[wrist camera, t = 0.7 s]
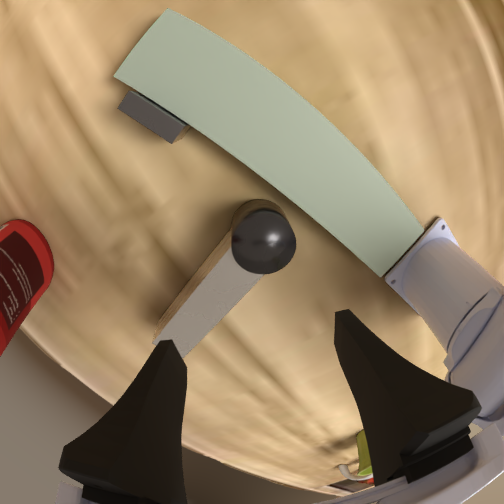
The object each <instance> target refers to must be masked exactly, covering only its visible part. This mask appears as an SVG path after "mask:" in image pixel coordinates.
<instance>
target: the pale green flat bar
mask: <svg viewBox="0 0 504 504" xmlns="http://www.w3.org/2000/svg"><path fill="white" fill-rule="evenodd" d="M113 77H115V78H117V79H119V80H120V81H122V82H124V83H125V84H127V85H129V86H130V87H132V88H134V89H135V90H137V91H138V92H140V93H142V94H143V95H145V96H146V97H148V98H150V99H151V100H153V101H154V102H156V103H158V104H159V105H161V106H162V107H164V108H165V109H167V110H168V111H170V112H171V113H173V114H174V115H176V116H177V117H179V118H180V119H182V120H183V121H185V122H186V123H188V124H189V125H191V126H192V127H194V128H195V129H197V130H198V131H199V132H201V133H202V134H204V135H205V136H207V137H208V138H209V139H211V140H212V141H214V142H215V143H217V144H218V145H219V146H221V147H222V148H223V149H225V150H226V151H228V152H229V153H230V154H232V155H233V156H234V157H236V158H237V159H239V160H240V161H241V162H243V163H244V164H245V165H247V166H248V167H249V168H251V169H252V170H253V171H254V172H256V173H257V174H258V175H260V176H261V177H262V178H264V179H265V180H266V181H267V182H269V183H270V184H271V185H273V186H274V187H275V188H276V189H278V190H279V191H280V192H281V193H283V194H284V195H285V196H287V197H288V198H289V199H290V200H291V201H293V202H294V203H295V204H296V205H298V206H299V207H300V208H301V209H303V210H304V211H305V212H306V213H307V214H309V215H310V216H311V217H312V218H313V219H315V220H316V221H317V222H318V223H319V224H320V225H322V226H323V227H324V228H325V229H326V230H328V231H329V232H330V233H331V234H332V235H333V236H335V237H336V238H337V239H338V240H339V241H340V242H341V243H343V244H344V245H345V246H346V247H347V248H348V249H349V250H350V251H352V252H353V253H354V254H355V255H356V256H357V257H358V258H359V259H360V260H362V261H363V262H364V263H365V264H366V265H367V266H368V267H369V268H370V269H371V270H372V271H374V272H375V273H376V274H377V275H378V276H379V277H380V278H381V277H382V276H383V275H384V274H385V273H386V272H387V271H388V270H389V269H390V268H391V267H392V266H393V265H394V263H395V262H396V261H397V260H398V259H399V258H400V257H401V256H402V255H403V254H404V253H405V252H406V251H407V250H408V249H409V247H410V246H411V245H412V244H413V243H414V242H415V241H416V240H417V239H418V237H419V236H420V235H421V234H422V233H423V232H424V231H425V230H424V229H423V227H422V226H421V224H420V223H419V222H418V220H417V219H416V218H415V216H414V215H413V214H412V212H411V211H410V210H409V208H408V207H407V206H406V205H405V203H404V202H403V201H402V199H401V198H400V197H399V196H398V194H397V193H396V192H395V191H394V190H393V188H392V187H391V186H390V185H389V184H388V182H387V181H386V180H385V179H384V178H383V177H382V175H381V174H380V173H379V172H378V171H377V170H376V169H375V167H374V166H373V165H372V164H371V163H370V162H369V161H368V160H367V159H366V158H365V156H364V155H363V154H362V153H361V152H360V151H359V150H358V149H357V148H356V147H355V146H354V145H353V144H352V143H351V142H350V141H349V140H348V139H347V138H346V137H345V136H344V135H343V134H342V133H341V132H340V131H339V130H338V129H337V128H336V127H335V126H334V125H333V124H332V123H331V122H330V121H329V120H328V119H327V118H325V117H324V116H323V115H322V114H321V113H320V112H319V111H318V110H317V109H316V108H314V107H313V106H312V105H311V104H310V103H309V102H308V101H306V100H305V99H304V98H303V97H302V96H301V95H299V94H298V93H297V92H296V91H295V90H293V89H292V88H291V87H290V86H289V85H287V84H286V83H285V82H284V81H282V80H281V79H280V78H278V77H277V76H276V75H275V74H273V73H272V72H271V71H269V70H268V69H267V68H265V67H264V66H263V65H261V64H260V63H258V62H257V61H256V60H254V59H253V58H251V57H250V56H249V55H247V54H246V53H244V52H243V51H241V50H240V49H238V48H237V47H235V46H234V45H232V44H231V43H229V42H228V41H226V40H224V39H223V38H221V37H220V36H218V35H216V34H215V33H213V32H211V31H210V30H208V29H206V28H205V27H203V26H201V25H199V24H198V23H196V22H194V21H192V20H190V19H188V18H187V17H185V16H183V15H181V14H179V13H177V12H175V11H173V10H171V9H169V8H167V9H166V10H165V12H164V13H163V14H162V15H161V16H160V17H159V18H158V19H157V20H156V21H155V23H154V24H153V25H152V26H151V27H150V28H149V30H148V31H147V32H146V33H145V34H144V36H143V37H142V38H141V39H140V41H139V42H138V43H137V44H136V46H135V47H134V48H133V50H132V51H131V52H130V54H129V55H128V56H127V58H126V59H125V60H124V62H123V63H122V65H121V66H120V67H119V69H118V70H117V72H116V73H115V75H114V76H113Z"/></svg>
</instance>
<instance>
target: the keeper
mask: <svg viewBox="0 0 504 504" xmlns="http://www.w3.org/2000/svg"><path fill="white" fill-rule="evenodd" d="M117 109H119V110H121V111H122V112H124V113H125V114H127V115H128V116H130V117H132V118H133V119H135V120H136V121H138V122H139V123H141V124H142V125H144V126H145V127H147V128H148V129H150V130H151V131H153V132H154V133H156V134H158V135H159V136H160V137H162V138H163V139H165V140H166V141H168V142H169V143H171V144H173V143H175V142H177V141H179V140H180V139H182V138H183V136H184V135H185V134H186V132H187V131H188V130H189V128H190V127H191V125H189V124H188V123H186V122H185V121H183V120H182V119H180V118H179V117H177V116H176V115H174V114H173V113H171V112H170V111H168V110H167V109H165V108H164V107H162V106H161V105H159V104H158V103H156V102H154V101H153V100H151V99H150V98H148V97H146V96H145V95H143V94H142V93H140V92H134V91H128V93H127V94H126V96H125V97H124V99H123V101H122V102H121V104H120V105H119V107H118V108H117Z"/></svg>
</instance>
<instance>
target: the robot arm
mask: <svg viewBox="0 0 504 504" xmlns="http://www.w3.org/2000/svg"><path fill="white" fill-rule="evenodd" d="M442 225H443V226H442ZM441 227H442V228H441ZM392 280H393V281H392ZM385 281H386V283H387V284H388V285H390V286H391V287H392V288H393V289H394V290H395V291H396V292H397V293H398V294H399V295H400V296H401V297H402V298H403V299H404V300H405V301H406V302H407V303H408V304H409V305H410V306H411V307H412V308H413V309H414V310H415V311H416V312H417V313H418V314H419V315H420V316H421V317H422V318H423V319H424V321H425V322H426V324H427V325H428V326H429V328H430V329H431V331H432V332H433V333H434V335H435V336H436V338H437V339H438V341H439V342H440V344H441V345H442V347H443V348H444V350H445V351H446V353H447V357H446V358H445V360H444V364H445V366H446V367H447V369H448V370H449V371H448V372H447V374H446V377H445V381H444V380H441V379H439V378H437V377H435V376H433V375H431V374H429V373H428V372H426V371H424V370H422V369H420V368H419V367H417V366H415V365H414V364H412V363H411V362H409V361H408V360H406V359H405V358H403V357H402V356H400V355H399V354H398V353H396V352H395V351H394V350H393V349H391V348H390V347H389V346H388V345H386V344H385V343H384V342H383V341H382V340H381V339H379V338H378V337H377V336H376V335H375V334H374V333H373V332H372V331H371V330H370V329H368V328H367V327H366V326H365V325H364V324H363V323H362V322H361V321H360V320H359V319H358V318H357V317H356V316H355V315H354V314H353V313H352V312H351V311H350V310H349V309H347V310H342V311H338V312H335V334H334V345H335V348H336V352H337V355H338V359H339V362H340V365H341V367H342V370H343V372H344V374H345V377H346V379H347V382H348V384H349V386H350V389H351V391H352V393H353V396H354V398H355V401H356V403H357V406H358V409H359V413H360V416H361V420H362V424H363V428H364V432H365V436H366V440H367V445H368V450H369V455H370V460H371V466H372V473H373V480H374V485H375V487H373V488H370V489H367V490H364V491H361V492H358V493H354V494H351V495H347V496H344V497H340V498H336V499H332V500H328V501H323V502H319V503H314V504H371V503H374V502H376V501H378V502H377V503H376V504H461V503H463V502H464V501H466V500H467V499H469V498H470V497H471V496H473V495H474V494H476V493H477V492H478V491H480V490H481V489H482V488H483V487H485V486H486V485H488V484H489V483H490V482H491V481H493V480H494V479H495V478H496V477H498V476H499V475H500V474H501V473H503V472H504V440H503V438H502V436H504V286H503V285H502V284H501V283H500V282H499V281H497V280H496V279H495V278H494V277H493V276H492V275H491V274H490V273H489V272H488V271H487V270H486V269H484V268H483V267H482V266H481V265H480V264H479V263H478V262H476V261H475V260H474V259H473V258H472V257H471V256H469V255H468V254H467V253H466V252H465V251H463V250H462V249H461V248H460V247H459V245H458V243H457V241H456V239H455V238H454V236H453V234H452V232H451V231H450V229H449V227H448V225H447V224H446V222H445V220H444V219H443V218H441V217H440V218H438V219H437V220H436V221H435V222H434V223H433V224H432V226H431V227H430V228H429V229H428V230H427V231H426V233H425V234H424V235H423V236H422V237H421V238H420V239H419V241H418V242H417V243H416V244H415V245H414V246H413V247H412V248H411V249H410V251H409V252H408V253H407V254H406V255H405V256H404V257H403V258H402V259H401V260H400V261H399V262H398V263H397V264H396V265H395V267H394V268H393V269H392V270H391V271H390V272H389V273H388V274H387V275H386V276H385ZM391 281H392V282H391ZM186 390H187V366H186V365H185V363H184V361H183V359H182V357H181V355H180V354H179V352H178V350H177V348H176V346H175V344H174V342H173V340H172V339H170V340H160V341H159V343H158V344H157V346H156V347H155V349H154V350H153V352H152V353H151V355H150V356H149V358H148V360H147V361H146V363H145V364H144V366H143V367H142V369H141V370H140V372H139V373H138V375H137V376H136V378H135V379H134V381H133V382H132V383H131V385H130V386H129V387H128V389H127V390H126V392H125V393H124V394H123V395H122V397H121V398H120V399H119V400H118V401H117V402H116V404H115V405H114V406H113V407H112V408H111V409H110V410H109V411H108V412H107V413H106V414H105V415H104V416H103V417H102V418H101V419H100V420H99V421H98V422H97V423H96V424H94V425H93V426H92V427H91V428H90V429H88V430H87V431H86V432H85V433H83V434H82V435H81V436H79V437H78V438H76V439H75V440H73V441H72V442H70V443H68V444H67V445H65V446H64V448H63V452H62V455H61V459H60V463H59V470H60V471H61V472H62V473H64V474H65V475H67V476H69V477H70V478H72V479H74V480H76V481H78V482H80V483H81V484H83V485H84V486H83V489H81V488H79V487H76V486H73V485H71V484H67V483H65V482H62V481H60V482H59V487H58V492H57V497H56V503H55V504H187V499H186V493H185V486H184V478H183V468H182V450H181V449H182V448H181V433H182V422H183V414H184V406H185V398H186ZM471 422H472V423H474V424H476V425H478V426H479V427H481V428H482V429H483V430H482V431H481V432H479V433H478V434H477V435H475V436H474V437H472V438H471V439H470V437H469V435H468V434H469V433H470V432H471V431H470V428H469V426H468V425H469V424H470V423H471ZM379 500H380V501H379Z"/></svg>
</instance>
